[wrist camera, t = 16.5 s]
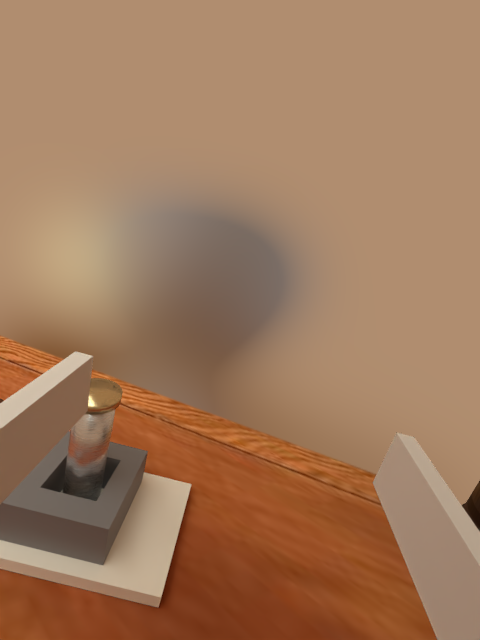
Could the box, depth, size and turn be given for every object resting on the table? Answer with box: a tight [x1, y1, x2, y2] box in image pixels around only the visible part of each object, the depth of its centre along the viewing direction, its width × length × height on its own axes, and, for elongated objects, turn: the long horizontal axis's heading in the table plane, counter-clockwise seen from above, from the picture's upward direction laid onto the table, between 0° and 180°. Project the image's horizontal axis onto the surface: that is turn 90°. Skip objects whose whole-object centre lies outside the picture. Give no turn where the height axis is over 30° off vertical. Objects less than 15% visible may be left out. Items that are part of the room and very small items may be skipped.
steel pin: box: [63, 378, 122, 501], centre depth 35 cm, size 5×5×16 cm
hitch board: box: [0, 431, 191, 608], centre depth 37 cm, size 18×14×6 cm
